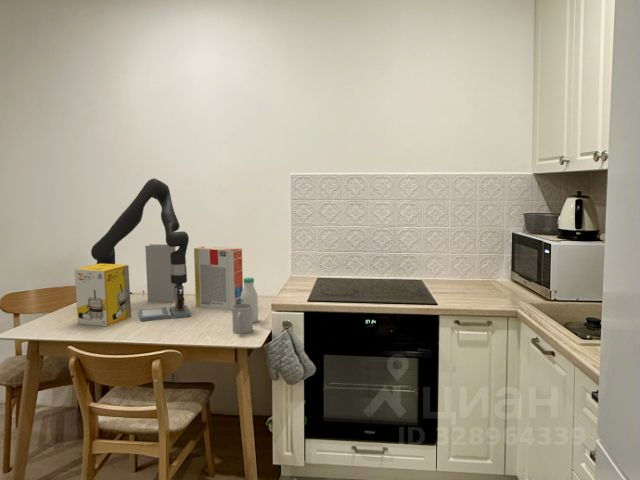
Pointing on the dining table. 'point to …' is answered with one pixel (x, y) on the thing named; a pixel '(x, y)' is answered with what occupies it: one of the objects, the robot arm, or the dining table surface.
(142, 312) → the blue-grey display panel
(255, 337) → the dining table surface
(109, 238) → the robot arm
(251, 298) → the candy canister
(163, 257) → the plain grey carton
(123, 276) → the packaging box
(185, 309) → the blue-grey two-tone fixture
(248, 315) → the mug
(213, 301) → the pasta box
